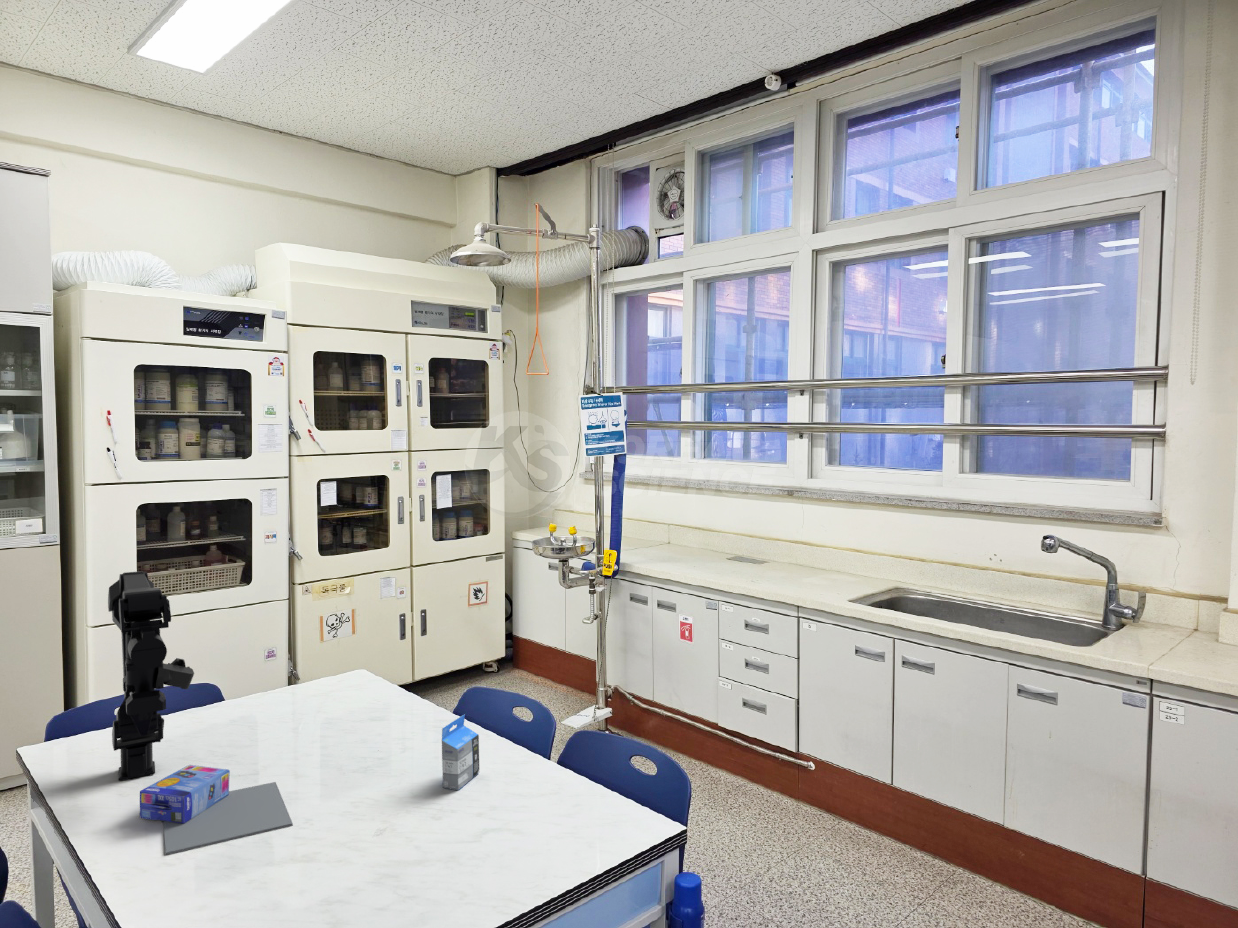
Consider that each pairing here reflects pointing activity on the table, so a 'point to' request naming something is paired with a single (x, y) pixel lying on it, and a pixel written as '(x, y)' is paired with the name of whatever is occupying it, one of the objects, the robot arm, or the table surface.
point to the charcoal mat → (230, 819)
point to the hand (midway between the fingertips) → (144, 734)
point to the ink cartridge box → (184, 794)
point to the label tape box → (459, 754)
